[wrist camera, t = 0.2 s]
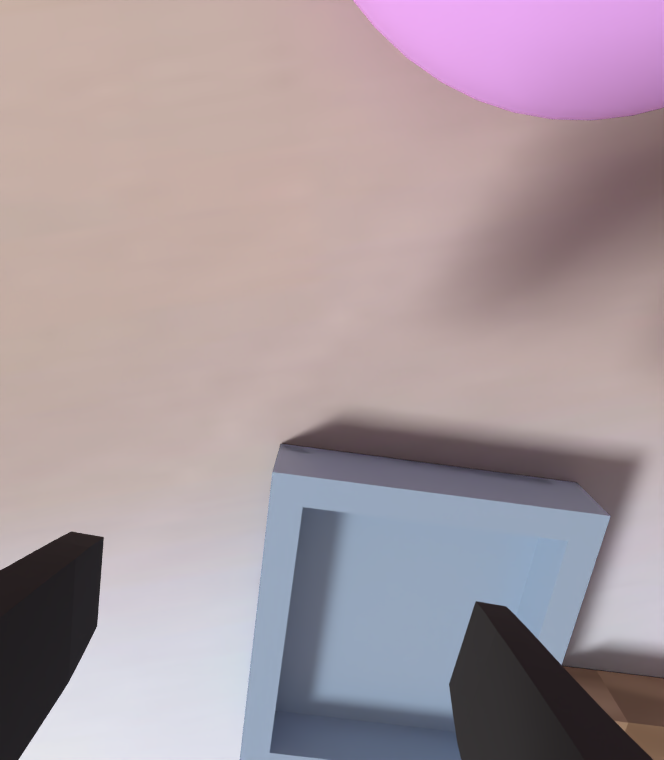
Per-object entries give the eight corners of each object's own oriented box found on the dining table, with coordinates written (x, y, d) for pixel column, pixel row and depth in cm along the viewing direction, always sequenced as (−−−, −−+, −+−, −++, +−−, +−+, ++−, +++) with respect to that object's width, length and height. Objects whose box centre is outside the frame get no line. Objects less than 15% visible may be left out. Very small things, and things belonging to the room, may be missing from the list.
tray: (497, 744, 23) (516, 802, 21) (249, 715, 23) (238, 770, 20) (576, 482, 19) (610, 515, 17) (280, 443, 19) (272, 472, 17)
